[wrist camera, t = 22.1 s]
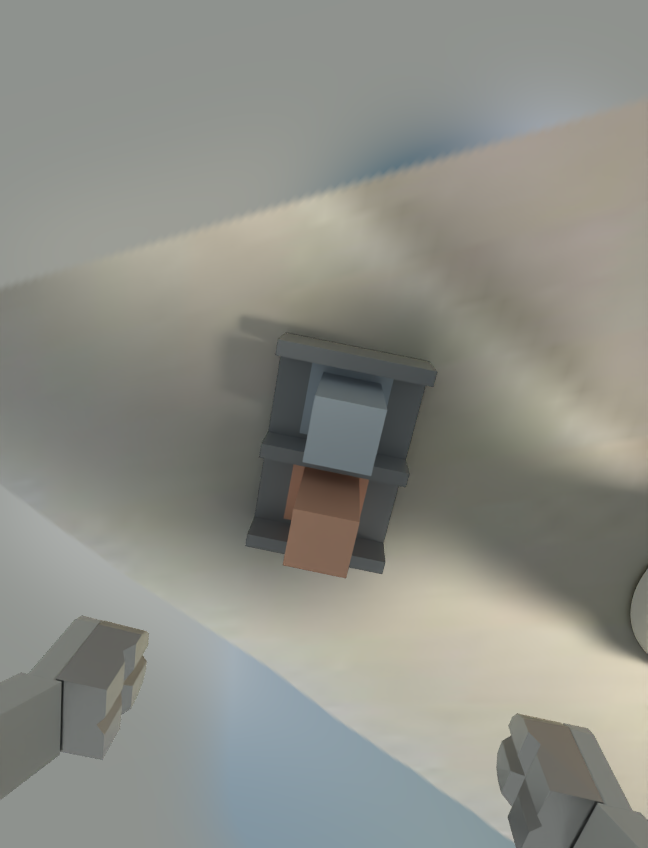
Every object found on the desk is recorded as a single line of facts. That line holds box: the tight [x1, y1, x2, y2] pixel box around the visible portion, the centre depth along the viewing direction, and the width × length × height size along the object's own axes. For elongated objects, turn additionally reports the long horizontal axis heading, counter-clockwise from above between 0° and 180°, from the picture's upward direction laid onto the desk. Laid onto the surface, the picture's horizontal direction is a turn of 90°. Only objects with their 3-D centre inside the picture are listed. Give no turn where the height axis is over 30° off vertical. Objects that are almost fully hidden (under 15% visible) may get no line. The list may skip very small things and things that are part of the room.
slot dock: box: [245, 333, 437, 574], centre depth 32 cm, size 10×15×4 cm, turn 169°
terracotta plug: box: [283, 467, 360, 578], centre depth 31 cm, size 4×4×6 cm
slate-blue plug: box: [303, 372, 387, 476], centre depth 29 cm, size 4×4×6 cm
